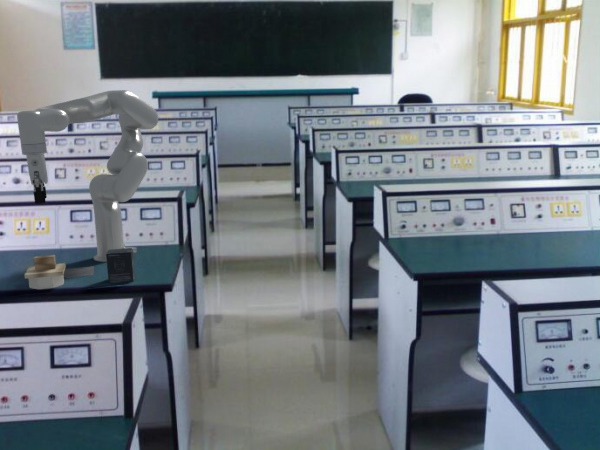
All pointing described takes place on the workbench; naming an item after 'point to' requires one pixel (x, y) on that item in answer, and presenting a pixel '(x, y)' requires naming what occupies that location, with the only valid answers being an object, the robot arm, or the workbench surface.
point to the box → (120, 265)
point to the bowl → (46, 282)
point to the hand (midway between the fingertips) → (41, 200)
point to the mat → (78, 272)
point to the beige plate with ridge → (45, 267)
